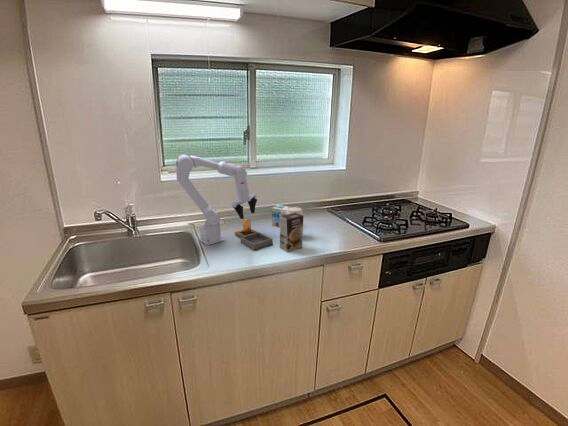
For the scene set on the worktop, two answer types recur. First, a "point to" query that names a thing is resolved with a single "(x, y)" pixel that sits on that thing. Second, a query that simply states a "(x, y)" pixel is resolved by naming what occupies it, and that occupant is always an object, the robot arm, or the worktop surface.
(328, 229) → the worktop surface
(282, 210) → the light bulb box
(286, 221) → the coffee box
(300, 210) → the supplement can
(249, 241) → the tray
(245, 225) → the cell
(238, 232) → the brown square shallow dish
